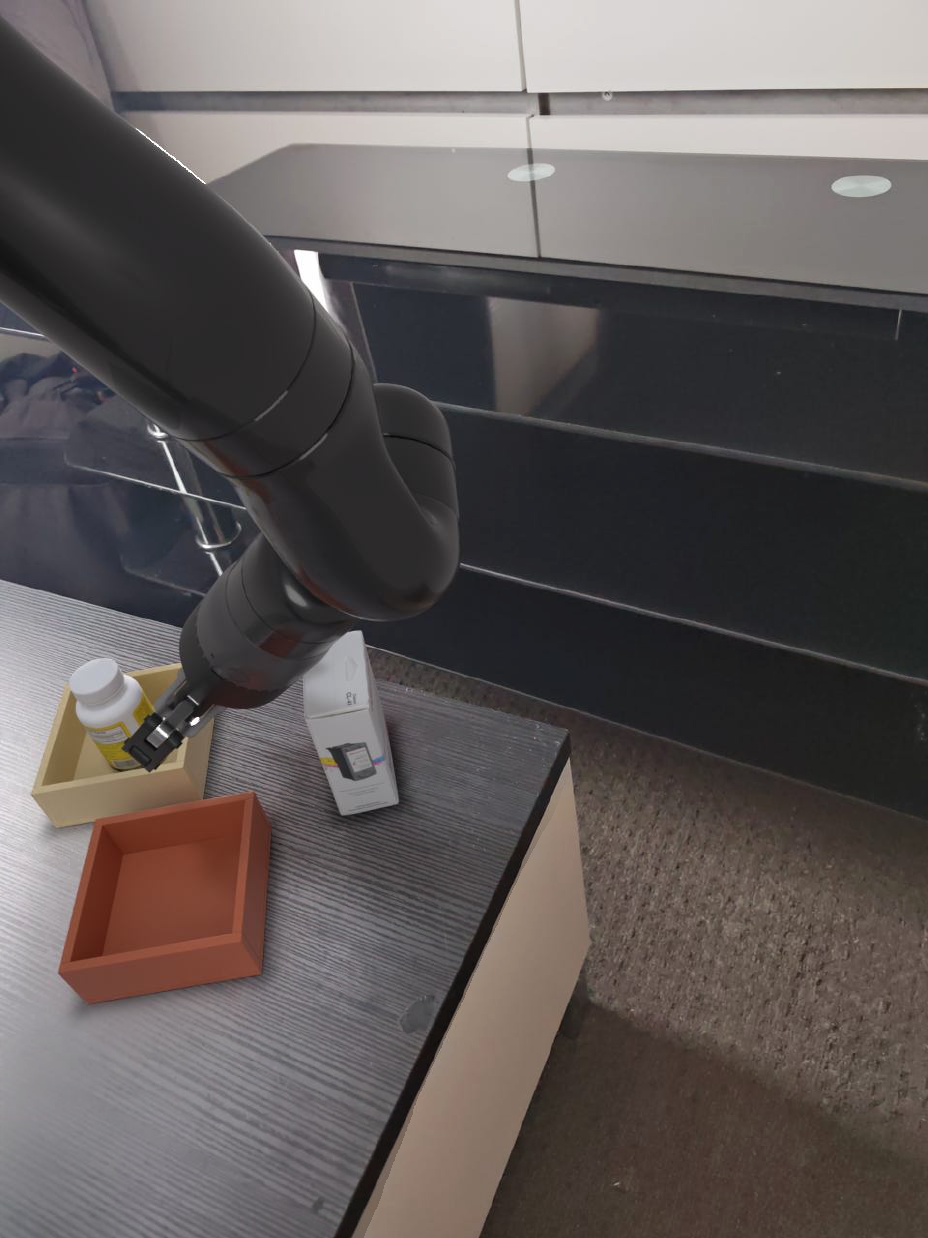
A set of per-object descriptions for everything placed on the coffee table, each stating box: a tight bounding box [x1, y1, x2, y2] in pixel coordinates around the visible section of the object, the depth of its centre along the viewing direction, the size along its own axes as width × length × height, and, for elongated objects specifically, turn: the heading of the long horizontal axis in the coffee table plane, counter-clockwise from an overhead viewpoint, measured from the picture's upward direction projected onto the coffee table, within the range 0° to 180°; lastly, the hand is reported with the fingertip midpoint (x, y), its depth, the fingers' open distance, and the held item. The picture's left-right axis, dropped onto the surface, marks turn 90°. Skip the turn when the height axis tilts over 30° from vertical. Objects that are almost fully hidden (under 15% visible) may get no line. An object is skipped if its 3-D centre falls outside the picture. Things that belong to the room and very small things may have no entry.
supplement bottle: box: [68, 657, 155, 773], centre depth 76 cm, size 5×5×10 cm
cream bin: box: [30, 662, 216, 829], centre depth 78 cm, size 12×12×5 cm
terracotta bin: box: [57, 790, 273, 1005], centre depth 66 cm, size 12×12×5 cm
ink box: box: [302, 630, 400, 817], centre depth 71 cm, size 9×5×12 cm, turn 9°
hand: (187, 705), depth 67 cm, fingers open, 8 cm apart
